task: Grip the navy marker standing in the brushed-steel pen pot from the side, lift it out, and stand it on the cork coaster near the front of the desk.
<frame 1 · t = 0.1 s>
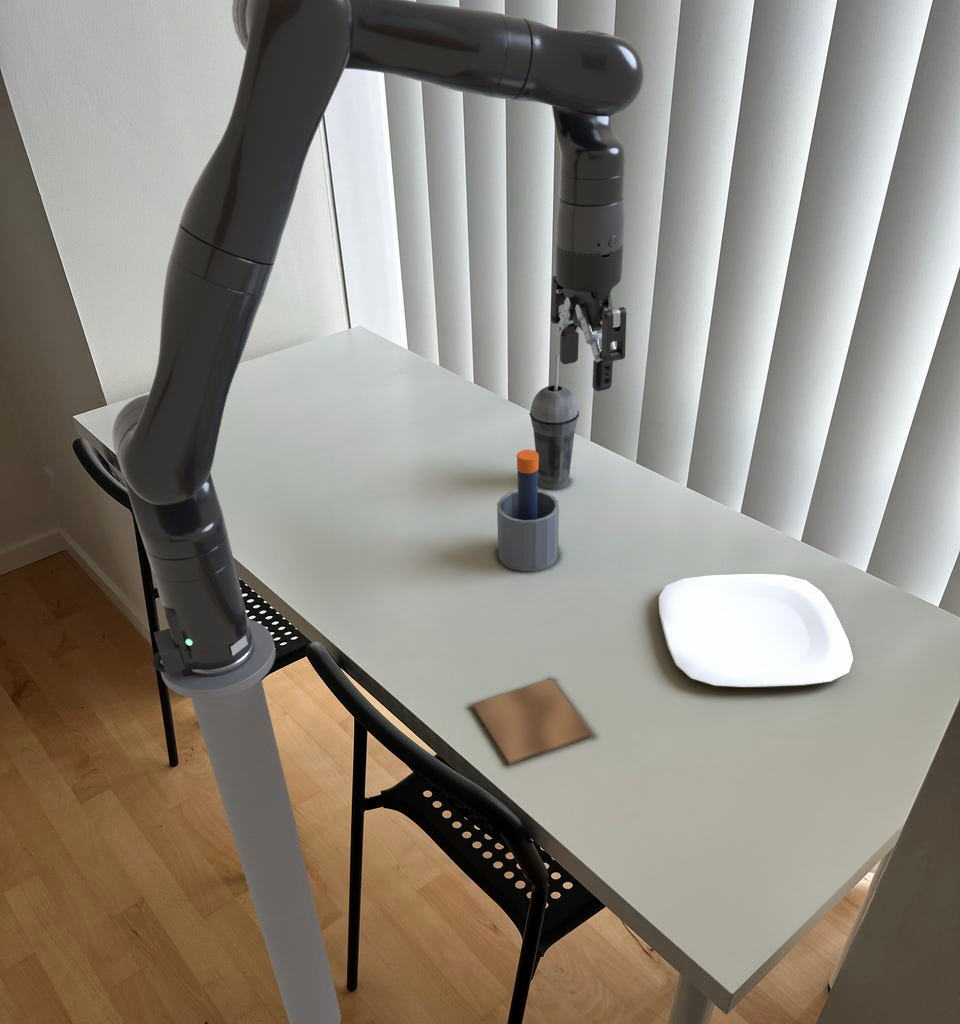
hand: (584, 375, 120), 26 cm above the table, tool pointing down, fingers open, 8 cm apart
mat: (530, 721, 111), on the table
plate: (749, 636, 121), on the table
pot: (528, 554, 136), on the table
beverage cup: (553, 482, 151), on the table
marker: (528, 550, 136), point 1 cm above the table, touching pot
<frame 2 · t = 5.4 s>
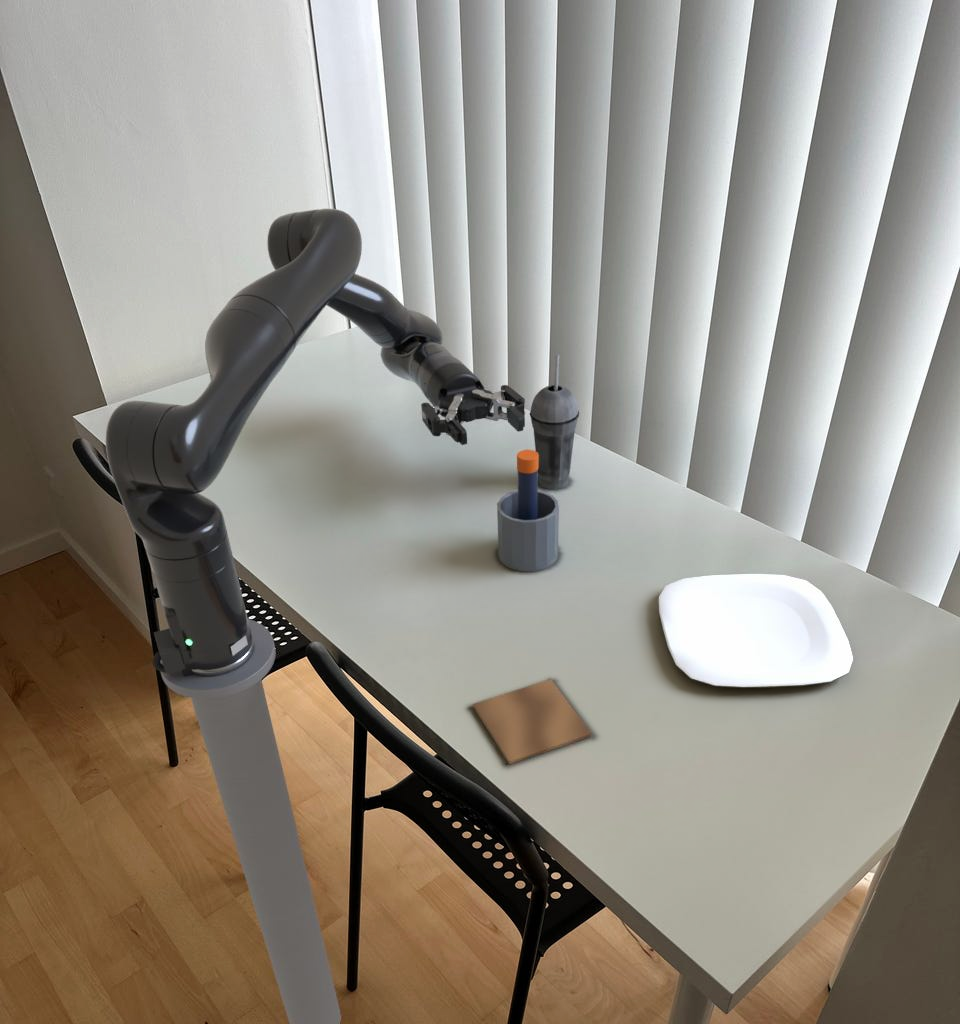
hand: (493, 431, 135), 14 cm above the table, tool horizontal, fingers open, 8 cm apart
nothing on the table moved.
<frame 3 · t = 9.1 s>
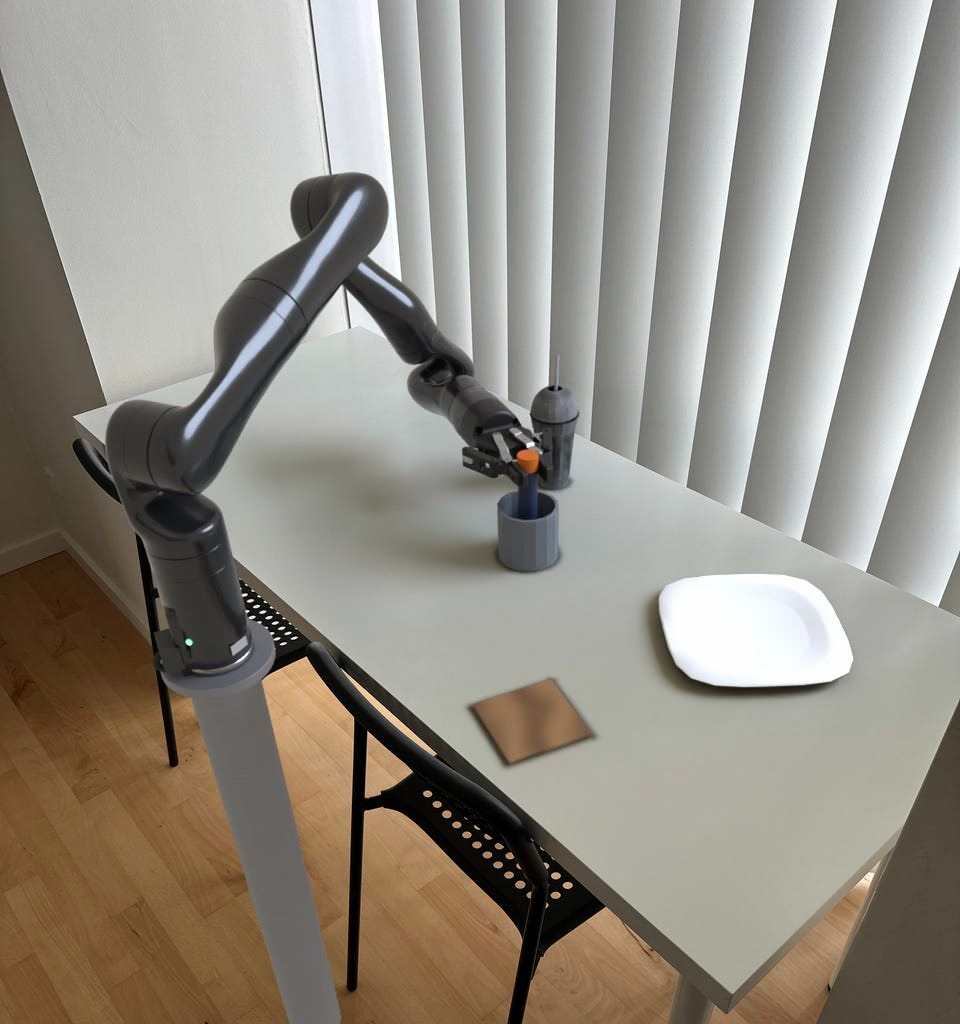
hand: (537, 478, 126), 14 cm above the table, tool horizontal, fingers closed on marker, 3 cm apart
marker: (528, 550, 136), point 1 cm above the table, touching gripper, pot
everything else where it was.
when the fingers open (13 cm above the table, at t = 20.8 s): marker stays where it is, resting on mat.
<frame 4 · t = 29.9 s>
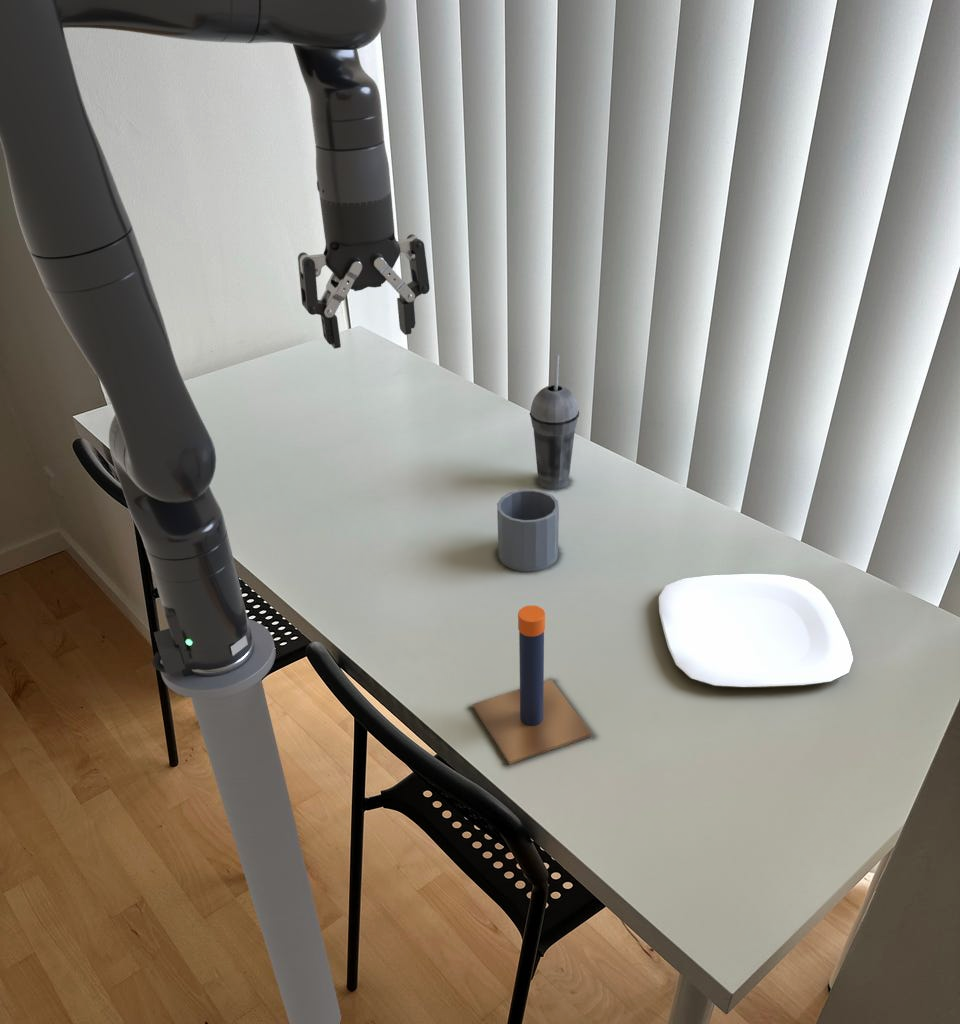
hand: (371, 339, 113), 33 cm above the table, tool pointing down, fingers open, 8 cm apart
marker: (531, 718, 110), resting on mat
everything else where it was.
at the end: marker inside the target area on the mat (0.1 cm from its centre), point 0.5 cm above the mat's base; the gripper is holding nothing; marker touching mat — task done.
